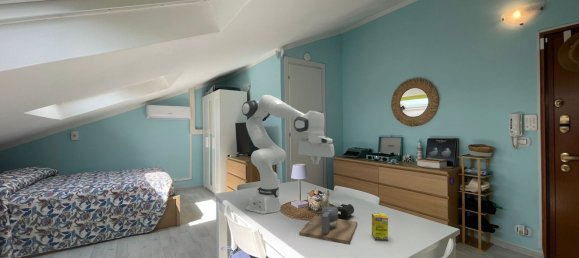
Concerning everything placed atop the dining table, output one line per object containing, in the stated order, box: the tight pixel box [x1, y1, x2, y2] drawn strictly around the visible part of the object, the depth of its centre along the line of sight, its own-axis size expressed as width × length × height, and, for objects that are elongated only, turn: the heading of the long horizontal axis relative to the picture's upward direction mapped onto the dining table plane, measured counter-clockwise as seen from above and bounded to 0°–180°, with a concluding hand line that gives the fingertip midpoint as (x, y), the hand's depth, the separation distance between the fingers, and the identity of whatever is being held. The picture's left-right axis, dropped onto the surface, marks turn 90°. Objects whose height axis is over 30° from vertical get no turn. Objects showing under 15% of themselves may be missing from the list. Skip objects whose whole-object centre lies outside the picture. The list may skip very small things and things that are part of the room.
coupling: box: [321, 205, 339, 234], centre depth 123 cm, size 15×8×8 cm, turn 157°
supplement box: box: [371, 212, 389, 242], centre depth 116 cm, size 6×6×11 cm
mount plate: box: [298, 215, 358, 245], centre depth 126 cm, size 24×24×6 cm
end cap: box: [336, 203, 355, 220], centre depth 143 cm, size 10×7×7 cm
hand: (315, 164), depth 136 cm, fingers closed
